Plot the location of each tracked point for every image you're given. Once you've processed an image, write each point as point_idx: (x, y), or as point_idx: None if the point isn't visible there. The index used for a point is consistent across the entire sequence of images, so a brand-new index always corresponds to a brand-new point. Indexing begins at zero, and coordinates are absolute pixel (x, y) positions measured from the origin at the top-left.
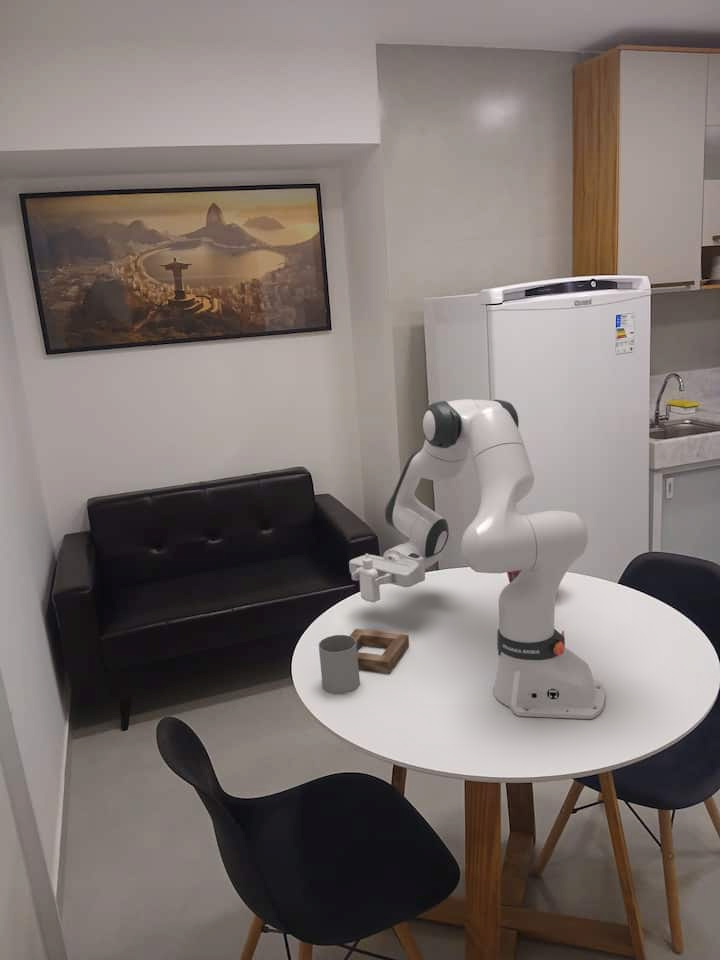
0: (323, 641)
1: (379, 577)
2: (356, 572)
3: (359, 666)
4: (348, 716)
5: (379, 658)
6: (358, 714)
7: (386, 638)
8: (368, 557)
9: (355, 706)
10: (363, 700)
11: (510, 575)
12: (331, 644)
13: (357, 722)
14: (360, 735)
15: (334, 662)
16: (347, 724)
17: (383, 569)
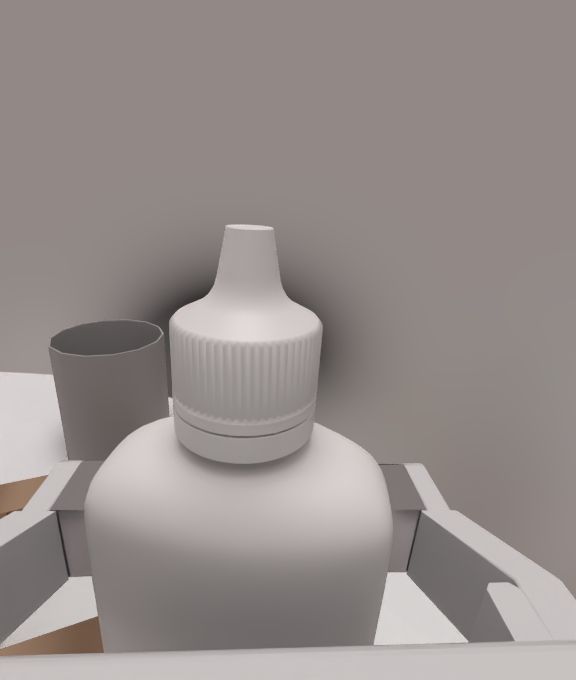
0: (161, 340)
1: (47, 505)
2: (417, 495)
3: None
4: (50, 393)
5: (11, 492)
6: (29, 402)
7: (21, 644)
8: (216, 276)
9: (46, 411)
10: (33, 427)
11: None
12: (151, 367)
13: (23, 391)
14: (6, 378)
15: (100, 346)
16: (43, 384)
17: (16, 664)
